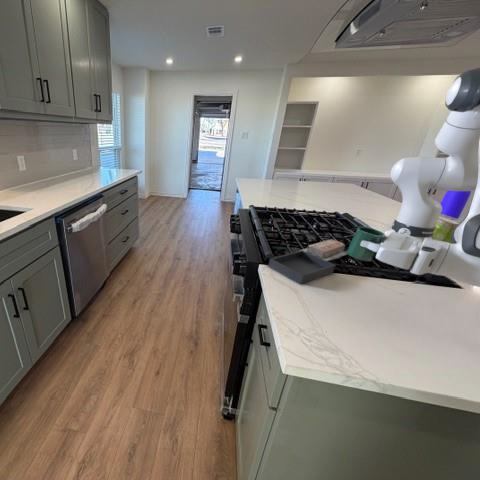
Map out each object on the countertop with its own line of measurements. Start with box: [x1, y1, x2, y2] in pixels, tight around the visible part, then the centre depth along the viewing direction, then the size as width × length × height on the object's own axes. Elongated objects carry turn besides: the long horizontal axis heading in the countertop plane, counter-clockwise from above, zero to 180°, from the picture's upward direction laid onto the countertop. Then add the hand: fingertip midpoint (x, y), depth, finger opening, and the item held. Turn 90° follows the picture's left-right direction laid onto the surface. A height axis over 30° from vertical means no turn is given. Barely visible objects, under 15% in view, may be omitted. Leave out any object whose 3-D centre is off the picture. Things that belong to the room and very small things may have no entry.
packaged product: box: [299, 238, 348, 262], centre depth 103 cm, size 18×5×10 cm
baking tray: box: [268, 249, 336, 285], centre depth 92 cm, size 18×13×3 cm
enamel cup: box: [346, 226, 385, 262], centre depth 78 cm, size 7×7×8 cm
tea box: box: [431, 214, 463, 244], centre depth 109 cm, size 15×10×15 cm, turn 176°
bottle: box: [440, 190, 472, 219], centre depth 127 cm, size 8×8×30 cm
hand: (364, 239), depth 78 cm, fingers closed on enamel cup, 7 cm apart
